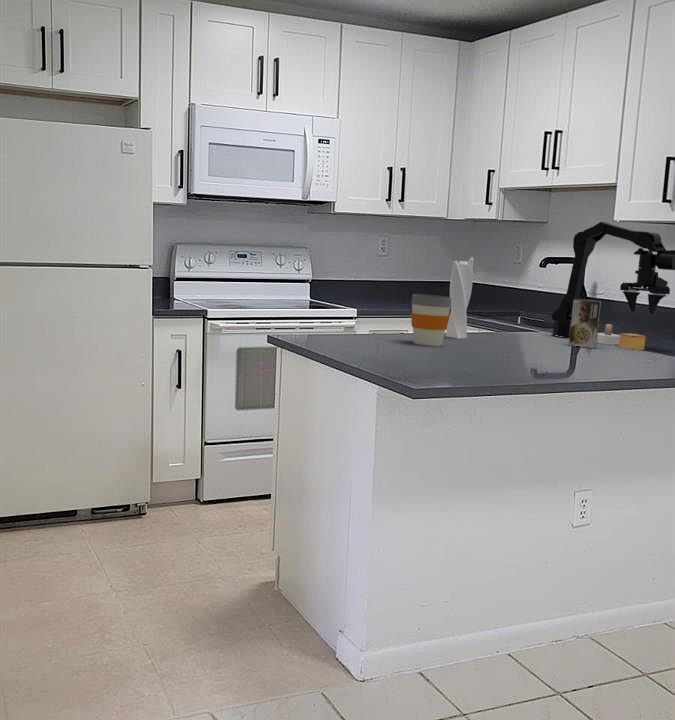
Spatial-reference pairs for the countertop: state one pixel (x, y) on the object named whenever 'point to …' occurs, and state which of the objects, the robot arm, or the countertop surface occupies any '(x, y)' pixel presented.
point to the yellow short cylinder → (632, 341)
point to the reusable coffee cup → (429, 318)
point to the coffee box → (584, 323)
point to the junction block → (608, 336)
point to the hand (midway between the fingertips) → (641, 312)
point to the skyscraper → (459, 299)
